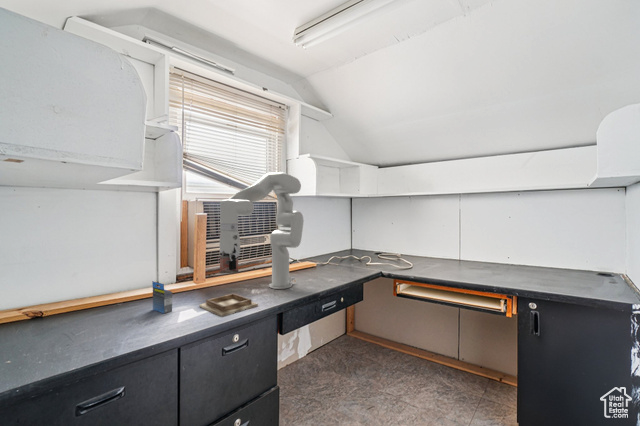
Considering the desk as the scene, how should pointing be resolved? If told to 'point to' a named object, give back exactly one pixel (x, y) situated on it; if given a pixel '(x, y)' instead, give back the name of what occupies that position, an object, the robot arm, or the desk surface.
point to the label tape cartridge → (161, 298)
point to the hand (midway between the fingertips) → (229, 268)
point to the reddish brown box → (227, 264)
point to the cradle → (228, 304)
